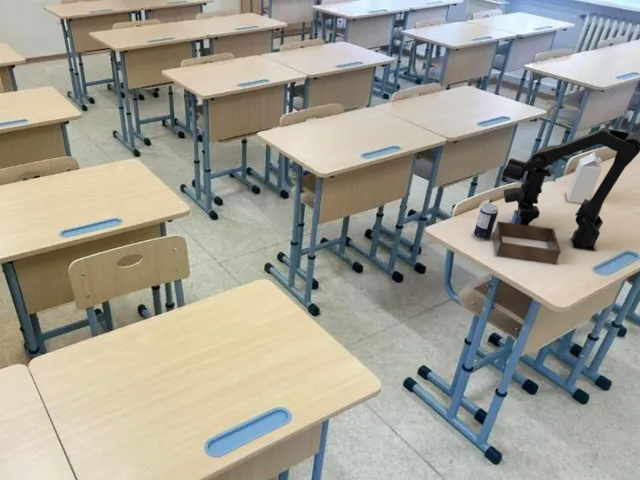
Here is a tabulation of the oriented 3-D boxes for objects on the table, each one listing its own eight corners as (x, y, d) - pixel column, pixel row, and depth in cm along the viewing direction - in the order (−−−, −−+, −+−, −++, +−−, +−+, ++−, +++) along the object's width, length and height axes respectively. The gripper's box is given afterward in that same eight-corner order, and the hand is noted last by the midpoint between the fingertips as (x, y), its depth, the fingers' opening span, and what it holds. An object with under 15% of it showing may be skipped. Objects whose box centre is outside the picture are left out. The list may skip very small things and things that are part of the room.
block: (525, 223, 205) (529, 211, 202) (526, 230, 201) (531, 218, 198) (511, 221, 206) (515, 210, 203) (512, 228, 203) (516, 216, 200)
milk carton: (567, 201, 219) (585, 156, 207) (566, 194, 224) (583, 149, 212) (587, 204, 217) (606, 159, 205) (585, 197, 222) (604, 152, 210)
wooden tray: (549, 240, 196) (554, 228, 192) (555, 264, 184) (560, 251, 181) (493, 233, 200) (497, 221, 197) (496, 255, 188) (500, 243, 185)
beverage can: (490, 241, 195) (500, 211, 188) (474, 239, 196) (482, 209, 189) (488, 233, 200) (497, 203, 192) (472, 231, 201) (480, 202, 193)
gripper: (506, 170, 203) (495, 208, 212) (510, 192, 188) (498, 232, 198) (539, 174, 200) (526, 212, 210) (546, 197, 186) (531, 236, 195)
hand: (519, 223), depth 203 cm, fingers open, 9 cm apart
